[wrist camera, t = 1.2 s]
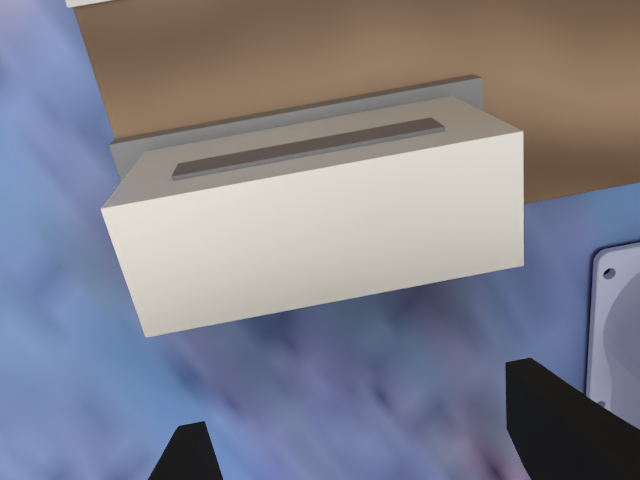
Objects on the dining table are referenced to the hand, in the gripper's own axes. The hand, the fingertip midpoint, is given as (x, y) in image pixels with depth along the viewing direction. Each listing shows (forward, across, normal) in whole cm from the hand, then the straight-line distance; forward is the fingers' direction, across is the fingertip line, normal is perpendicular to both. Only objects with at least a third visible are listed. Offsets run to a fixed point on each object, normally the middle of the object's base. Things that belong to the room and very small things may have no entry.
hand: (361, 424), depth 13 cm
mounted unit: (+9, 0, -4) cm, 10 cm away
